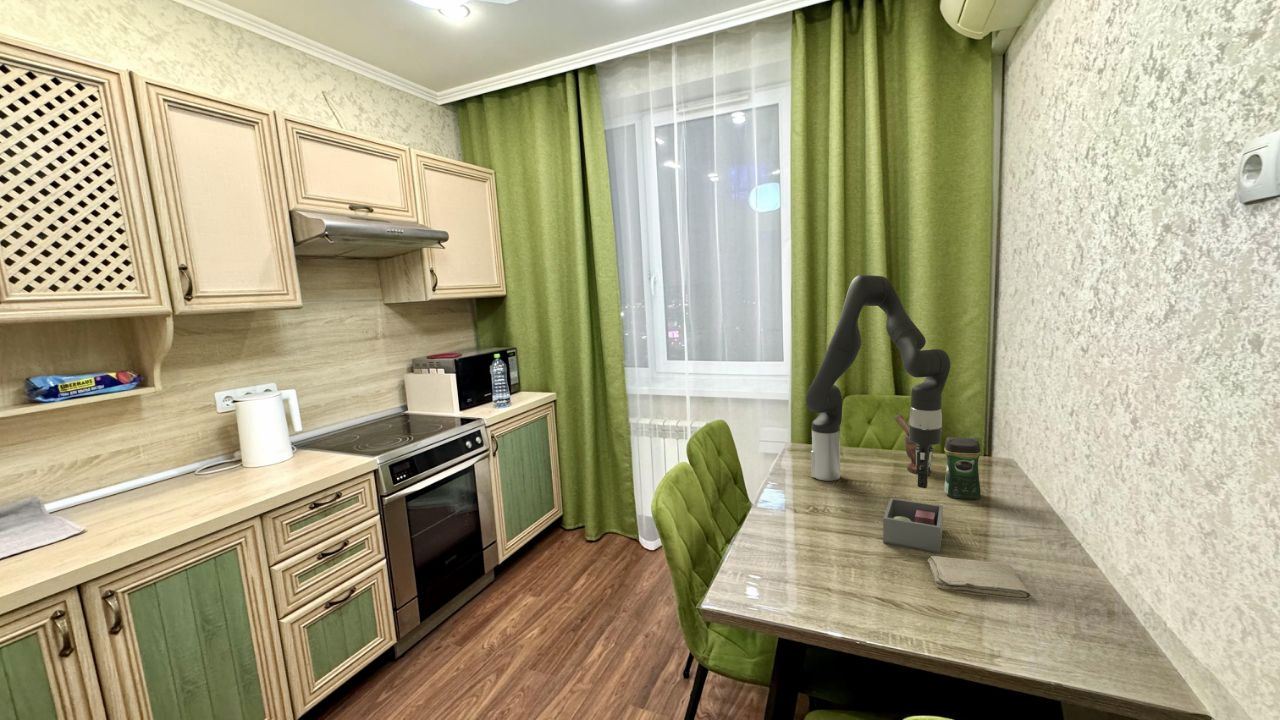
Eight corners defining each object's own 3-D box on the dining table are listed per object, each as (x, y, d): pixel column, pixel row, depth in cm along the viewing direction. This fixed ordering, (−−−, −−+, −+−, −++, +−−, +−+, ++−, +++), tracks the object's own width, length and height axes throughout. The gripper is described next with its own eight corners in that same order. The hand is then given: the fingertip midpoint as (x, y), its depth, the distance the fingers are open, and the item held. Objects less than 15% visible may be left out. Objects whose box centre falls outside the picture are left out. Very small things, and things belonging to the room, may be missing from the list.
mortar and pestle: (896, 473, 180) (896, 418, 177) (893, 465, 188) (893, 412, 185) (933, 475, 176) (934, 419, 173) (929, 466, 184) (929, 413, 181)
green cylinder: (891, 539, 136) (891, 521, 135) (893, 532, 139) (893, 515, 138) (910, 543, 133) (910, 525, 132) (911, 535, 137) (912, 518, 136)
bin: (883, 542, 135) (883, 518, 134) (890, 520, 147) (890, 497, 146) (940, 553, 128) (940, 527, 127) (942, 529, 140) (943, 505, 139)
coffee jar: (977, 491, 161) (979, 435, 159) (982, 501, 154) (983, 442, 152) (942, 488, 165) (943, 433, 163) (945, 498, 158) (946, 440, 156)
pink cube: (914, 533, 138) (915, 516, 137) (916, 526, 141) (916, 509, 141) (933, 537, 135) (933, 519, 135) (934, 529, 139) (934, 512, 138)
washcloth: (925, 564, 125) (925, 552, 125) (1011, 572, 119) (1012, 560, 119) (936, 592, 114) (936, 579, 114) (1032, 603, 108) (1032, 589, 108)
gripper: (912, 415, 143) (911, 470, 146) (906, 429, 132) (905, 489, 134) (943, 418, 139) (941, 474, 142) (940, 433, 127) (938, 494, 130)
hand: (923, 481), depth 138 cm, fingers open, 8 cm apart
